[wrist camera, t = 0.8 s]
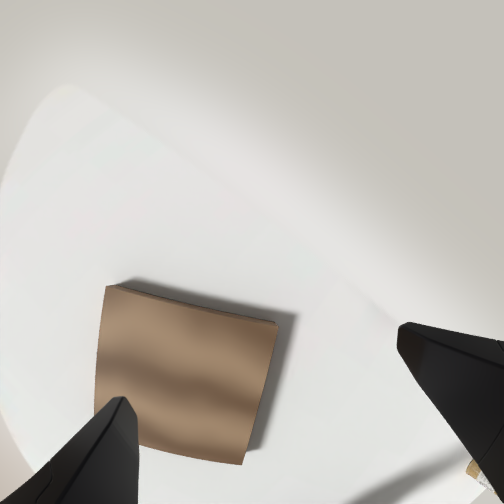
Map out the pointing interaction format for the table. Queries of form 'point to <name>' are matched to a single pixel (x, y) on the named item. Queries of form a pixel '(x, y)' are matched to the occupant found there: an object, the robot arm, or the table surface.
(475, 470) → the sprinkles bottle
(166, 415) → the brown wooden square board
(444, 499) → the table surface
